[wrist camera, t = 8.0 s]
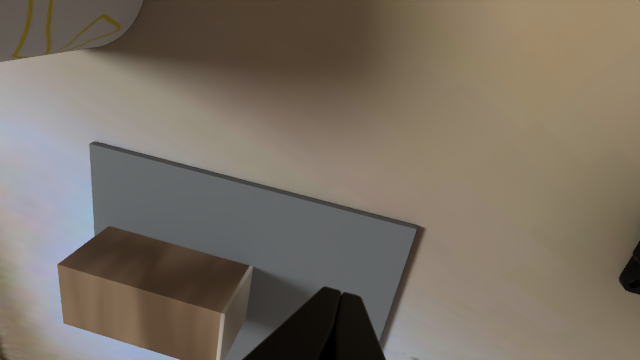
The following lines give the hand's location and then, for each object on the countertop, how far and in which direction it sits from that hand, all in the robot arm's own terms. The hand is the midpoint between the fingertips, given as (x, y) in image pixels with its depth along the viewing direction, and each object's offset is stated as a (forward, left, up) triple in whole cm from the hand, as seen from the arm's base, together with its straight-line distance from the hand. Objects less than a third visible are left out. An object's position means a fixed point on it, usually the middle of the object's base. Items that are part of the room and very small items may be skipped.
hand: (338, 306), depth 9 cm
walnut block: (+5, +11, -10) cm, 15 cm away
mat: (+6, +11, -12) cm, 17 cm away
